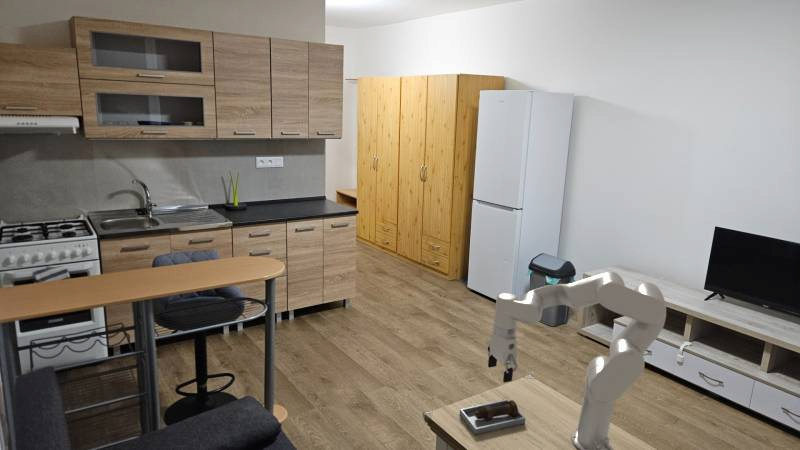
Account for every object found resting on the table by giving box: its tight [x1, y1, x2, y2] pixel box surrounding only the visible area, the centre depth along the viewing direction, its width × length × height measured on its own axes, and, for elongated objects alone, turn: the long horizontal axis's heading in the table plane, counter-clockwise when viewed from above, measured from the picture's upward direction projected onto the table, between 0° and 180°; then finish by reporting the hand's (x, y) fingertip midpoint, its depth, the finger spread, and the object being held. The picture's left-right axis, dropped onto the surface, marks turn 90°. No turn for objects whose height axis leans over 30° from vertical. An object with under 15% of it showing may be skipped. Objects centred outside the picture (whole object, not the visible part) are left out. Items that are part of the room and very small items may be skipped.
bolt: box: [475, 399, 519, 420], centre depth 186 cm, size 6×5×15 cm
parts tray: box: [459, 398, 526, 436], centre depth 186 cm, size 11×20×2 cm, turn 112°
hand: (499, 373), depth 182 cm, fingers open, 9 cm apart
